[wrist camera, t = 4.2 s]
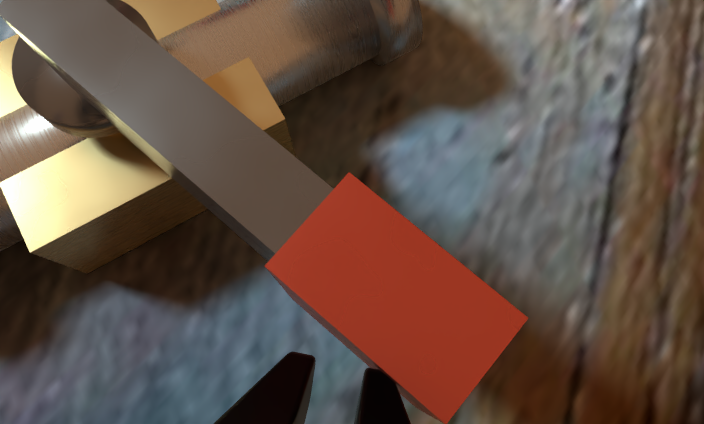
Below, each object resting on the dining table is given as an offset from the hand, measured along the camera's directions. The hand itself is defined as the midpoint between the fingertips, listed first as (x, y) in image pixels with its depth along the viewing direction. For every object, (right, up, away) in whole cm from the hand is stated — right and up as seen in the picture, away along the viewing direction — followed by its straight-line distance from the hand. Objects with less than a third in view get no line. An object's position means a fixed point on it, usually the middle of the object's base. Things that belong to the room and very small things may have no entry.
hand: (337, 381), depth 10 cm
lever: (-2, +3, +3) cm, 5 cm away
